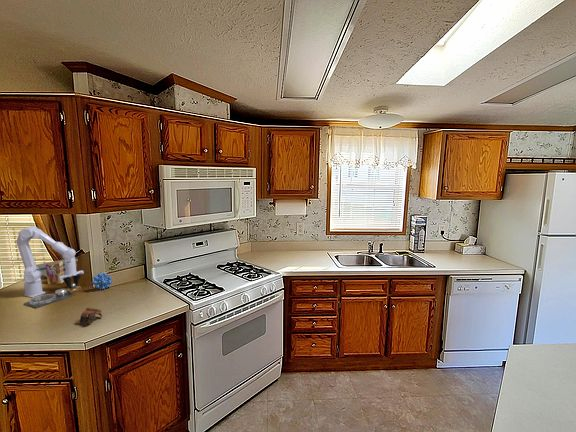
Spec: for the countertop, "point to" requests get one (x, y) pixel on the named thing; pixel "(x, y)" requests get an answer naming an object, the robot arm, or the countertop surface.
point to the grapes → (102, 281)
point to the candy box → (54, 272)
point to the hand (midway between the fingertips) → (72, 286)
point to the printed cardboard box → (43, 266)
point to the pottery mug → (89, 316)
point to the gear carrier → (48, 298)
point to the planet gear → (73, 288)
